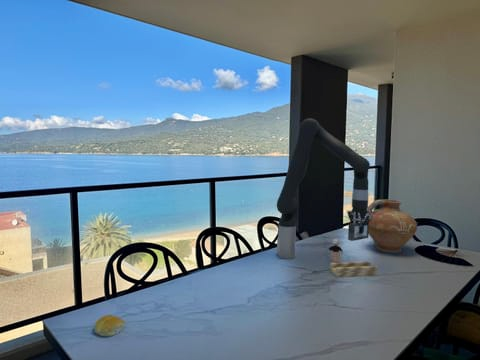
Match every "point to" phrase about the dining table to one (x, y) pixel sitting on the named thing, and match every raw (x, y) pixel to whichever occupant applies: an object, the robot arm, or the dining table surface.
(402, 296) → the dining table surface
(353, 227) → the dark grey block
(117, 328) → the bread roll
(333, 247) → the grandmother figurine
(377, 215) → the jug
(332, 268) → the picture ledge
